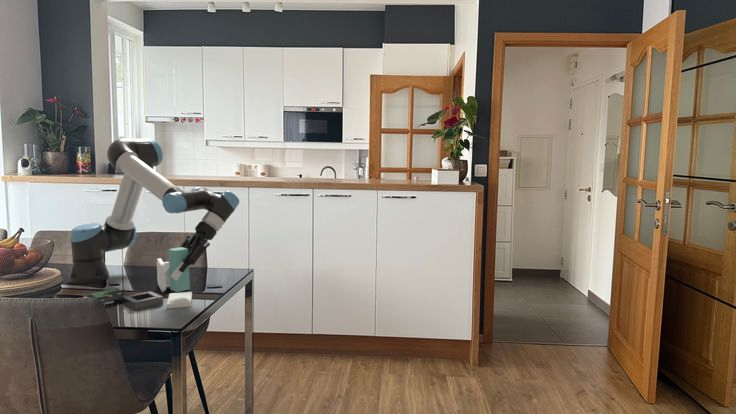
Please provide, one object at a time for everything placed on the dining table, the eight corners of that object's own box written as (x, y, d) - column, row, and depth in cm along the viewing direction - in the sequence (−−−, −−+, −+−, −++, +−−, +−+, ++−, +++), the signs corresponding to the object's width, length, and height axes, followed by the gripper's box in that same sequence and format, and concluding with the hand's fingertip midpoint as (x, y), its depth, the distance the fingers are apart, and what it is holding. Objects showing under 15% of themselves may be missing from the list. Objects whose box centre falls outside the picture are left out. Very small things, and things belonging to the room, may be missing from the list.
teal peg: (170, 289, 190) (168, 249, 188) (183, 286, 194) (181, 247, 192) (177, 292, 187) (175, 250, 185) (189, 289, 191) (188, 248, 189)
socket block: (123, 305, 187) (122, 296, 187) (150, 299, 194) (150, 291, 194) (135, 311, 180) (134, 302, 180) (163, 304, 188) (162, 296, 187)
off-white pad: (169, 297, 197) (169, 293, 196) (192, 295, 199) (191, 291, 199) (167, 308, 183) (166, 304, 183) (191, 306, 186) (190, 302, 185)
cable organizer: (157, 285, 214) (155, 257, 213) (184, 281, 219) (183, 254, 218) (161, 294, 201) (160, 264, 200) (190, 290, 206) (188, 261, 204)
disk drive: (131, 303, 191) (117, 294, 202) (130, 296, 191) (117, 287, 202) (100, 309, 184) (88, 299, 195) (100, 301, 184) (87, 292, 195)
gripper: (228, 235, 193) (189, 287, 183) (203, 230, 205) (165, 278, 195) (215, 222, 189) (174, 275, 179) (190, 218, 201) (150, 267, 191)
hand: (169, 277), depth 187 cm, fingers closed on teal peg, 5 cm apart
